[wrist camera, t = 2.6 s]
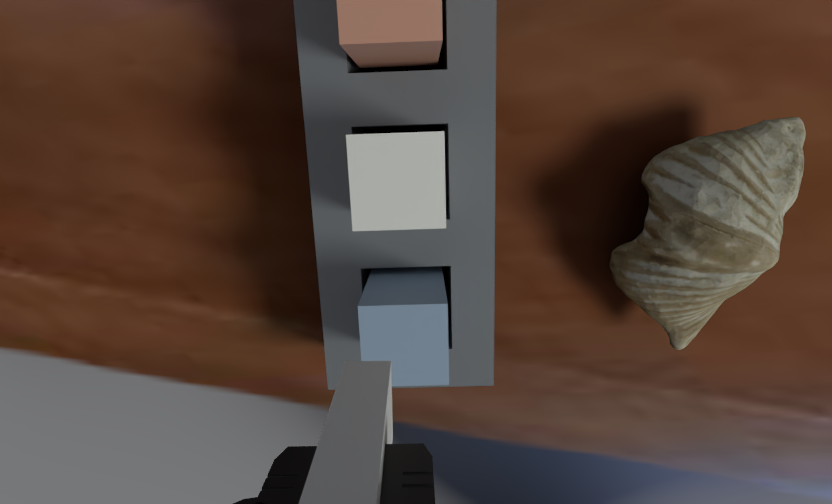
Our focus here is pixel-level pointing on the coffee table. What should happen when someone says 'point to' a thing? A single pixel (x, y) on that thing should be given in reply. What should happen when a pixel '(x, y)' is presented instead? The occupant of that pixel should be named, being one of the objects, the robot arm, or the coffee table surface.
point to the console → (464, 178)
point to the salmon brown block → (391, 32)
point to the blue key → (406, 324)
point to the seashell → (710, 222)
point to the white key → (397, 180)
